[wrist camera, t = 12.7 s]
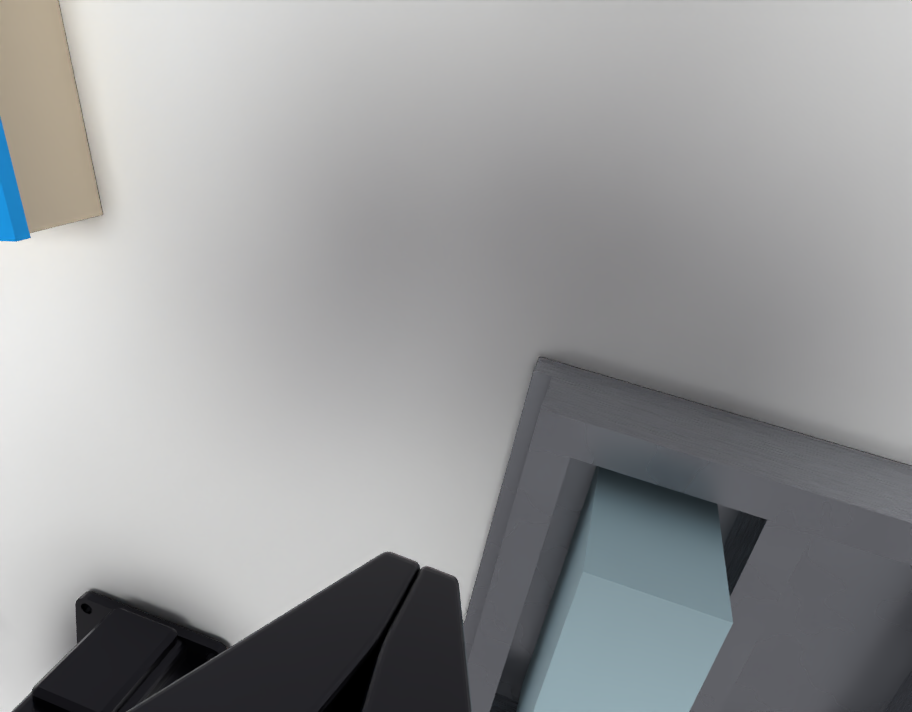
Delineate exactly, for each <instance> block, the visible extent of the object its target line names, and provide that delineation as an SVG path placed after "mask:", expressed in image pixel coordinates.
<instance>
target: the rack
mask: <svg viewBox="0 0 912 712" xmlns="http://www.w3.org/2000/svg"><path fill="white" fill-rule="evenodd" d="M597 466H599V467H602V468H605V469H608V470H612V471H615V472H618V473H621V474H624V475H627V476H631V477H634V478H637V479H640V480H643V481H646V482H650V483H653V484H656V485H659V486H662V487H665V488H669V489H672V490H675V491H678V492H681V493H684V494H688V495H691V496H694V497H697V498H700V499H703V500H707V501H710V502H713V503H716V504H717V506H718V513H719V521H720V528H721V536H722V543H723V551H724V558H725V566H726V573H727V581H728V588H729V596H730V603H731V611H732V618H733V624H732V626H731V628H730V630H729V632H728V634H727V636H726V638H725V640H724V642H723V644H722V646H721V648H720V650H719V652H718V654H717V656H716V659H715V661H714V663H713V665H712V667H711V669H710V671H709V673H708V675H707V677H706V679H705V681H704V683H703V685H702V687H701V689H700V691H699V693H698V695H697V697H696V699H695V701H694V703H693V705H692V707H691V709H690V711H689V712H912V466H910V465H906V464H903V463H899V462H896V461H893V460H889V459H886V458H882V457H879V456H876V455H872V454H869V453H865V452H862V451H859V450H855V449H852V448H848V447H845V446H842V445H838V444H835V443H831V442H828V441H825V440H821V439H818V438H814V437H811V436H808V435H804V434H801V433H797V432H794V431H791V430H787V429H784V428H780V427H777V426H774V425H770V424H767V423H763V422H760V421H757V420H753V419H750V418H746V417H743V416H740V415H736V414H733V413H729V412H726V411H723V410H719V409H716V408H712V407H709V406H706V405H702V404H699V403H695V402H692V401H689V400H685V399H682V398H678V397H675V396H672V395H668V394H665V393H661V392H658V391H655V390H651V389H648V388H644V387H641V386H638V385H634V384H631V383H627V382H624V381H621V380H617V379H614V378H611V377H607V376H604V375H600V374H597V373H594V372H590V371H587V370H583V369H580V368H577V367H573V366H570V365H566V364H563V363H560V362H556V361H553V360H549V359H546V358H543V357H539V359H538V362H537V364H536V366H535V369H534V371H533V375H532V379H531V382H530V386H529V389H528V393H527V397H526V400H525V404H524V408H523V411H522V415H521V419H520V422H519V426H518V429H517V433H516V437H515V440H514V444H513V448H512V451H511V455H510V459H509V462H508V466H507V469H506V473H505V477H504V480H503V484H502V488H501V491H500V495H499V499H498V502H497V506H496V509H495V513H494V517H493V520H492V524H491V528H490V531H489V535H488V539H487V542H486V546H485V549H484V553H483V557H482V560H481V564H480V568H479V571H478V575H477V579H476V582H475V586H474V589H473V593H472V597H471V600H470V604H469V608H468V611H467V615H466V619H465V622H464V626H463V629H464V639H465V648H466V658H467V667H468V677H469V687H470V696H471V706H472V712H516V710H517V706H518V702H519V697H520V693H521V688H522V684H523V682H524V679H525V676H526V673H527V670H528V667H529V664H530V661H531V658H532V655H533V652H534V649H535V646H536V643H537V640H538V637H539V634H540V631H541V628H542V626H543V623H544V620H545V617H546V614H547V611H548V608H549V605H550V602H551V599H552V596H553V593H554V590H555V587H556V584H557V581H558V578H559V575H560V573H561V570H562V567H563V564H564V561H565V558H566V555H567V552H568V549H569V546H570V543H571V540H572V537H573V534H574V531H575V528H576V525H577V522H578V520H579V517H580V514H581V511H582V508H583V505H584V502H585V499H586V496H587V493H588V490H589V487H590V484H591V481H592V478H593V475H594V472H595V469H596V467H597Z"/></svg>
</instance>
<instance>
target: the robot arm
mask: <svg viewBox="0 0 912 712" xmlns="http://www.w3.org/2000/svg"><path fill="white" fill-rule="evenodd" d="M76 626H77V645H76V646H75V647H74V648H73V649H72V650H71V651H70V652H69V653H68V654H67V655H66V656H65V657H64V658H63V659H62V660H61V661H60V662H59V663H58V664H56V665H55V666H54V667H53V668H52V669H51V670H50V671H49V672H48V673H47V674H46V675H45V676H44V677H43V678H42V679H41V680H40V681H39V682H38V683H37V684H36V685H35V686H34V688H33V689H32V692H31V693H30V694H29V695H28V696H27V697H26V698H25V699H24V700H23V701H22V702H21V703H20V704H19V705H18V706H17V707H16V708H15V709H14V710H13V711H12V712H472V706H471V696H470V687H469V677H468V667H467V658H466V648H465V639H464V629H463V620H462V610H461V601H460V591H459V583H458V580H457V579H456V578H455V577H454V576H452V575H450V574H447V573H445V572H442V571H439V570H437V569H434V568H432V567H429V566H425V567H423V568H422V569H420V566H419V564H418V563H417V562H416V561H413V560H411V559H408V558H406V557H403V556H400V555H398V554H395V553H393V552H384V553H382V554H380V555H379V556H377V557H375V558H374V559H372V560H370V561H369V562H367V563H366V564H364V565H362V566H361V567H359V568H358V569H356V570H354V571H353V572H351V573H349V574H348V575H346V576H345V577H343V578H341V579H340V580H338V581H337V582H335V583H333V584H332V585H330V586H328V587H327V588H325V589H324V590H322V591H320V592H319V593H317V594H316V595H314V596H312V597H311V598H309V599H307V600H306V601H304V602H303V603H301V604H299V605H298V606H296V607H295V608H293V609H291V610H290V611H288V612H286V613H285V614H283V615H282V616H280V617H278V618H277V619H275V620H274V621H272V622H270V623H269V624H267V625H265V626H264V627H262V628H261V629H259V630H257V631H256V632H254V633H252V634H251V635H249V636H248V637H246V638H244V639H243V640H241V641H240V642H238V643H236V644H235V645H233V646H231V647H230V648H228V649H227V648H226V646H225V645H224V644H222V643H221V642H219V641H216V640H214V639H211V638H209V637H206V636H204V635H201V634H199V633H196V632H194V631H191V630H188V629H186V628H183V627H181V626H178V625H176V624H173V623H171V622H168V621H166V620H163V619H160V618H158V617H155V616H153V615H150V614H148V613H145V612H143V611H140V610H137V609H135V608H132V607H130V606H127V605H125V604H122V603H120V602H117V601H115V600H112V599H109V598H107V597H104V596H102V595H99V594H97V593H94V592H90V591H89V592H86V593H84V594H83V595H82V596H81V597H80V598H79V599H78V600H77V601H76Z"/></svg>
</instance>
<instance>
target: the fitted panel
mask: <svg viewBox="0 0 912 712" xmlns="http://www.w3.org/2000/svg"><path fill="white" fill-rule="evenodd" d="M732 624H733V618H732V611H731V603H730V596H729V588H728V581H727V573H726V566H725V558H724V551H723V543H722V536H721V528H720V521H719V513H718V506H717V504H716V503H713V502H710V501H707V500H703V499H700V498H697V497H694V496H691V495H688V494H684V493H681V492H678V491H675V490H672V489H669V488H665V487H662V486H659V485H656V484H653V483H650V482H646V481H643V480H640V479H637V478H634V477H631V476H627V475H624V474H621V473H618V472H615V471H612V470H608V469H605V468H602V467H599V466H597V467H596V469H595V472H594V475H593V478H592V481H591V484H590V487H589V490H588V493H587V496H586V499H585V502H584V505H583V508H582V511H581V514H580V517H579V520H578V522H577V525H576V528H575V531H574V534H573V537H572V540H571V543H570V546H569V549H568V552H567V555H566V558H565V561H564V564H563V567H562V570H561V573H560V575H559V578H558V581H557V584H556V587H555V590H554V593H553V596H552V599H551V602H550V605H549V608H548V611H547V614H546V617H545V620H544V623H543V626H542V628H541V631H540V634H539V637H538V640H537V643H536V646H535V649H534V652H533V655H532V658H531V661H530V664H529V667H528V670H527V673H526V676H525V679H524V682H523V684H522V688H521V693H520V697H519V702H518V706H517V710H516V712H689V711H690V709H691V707H692V705H693V703H694V701H695V699H696V697H697V695H698V693H699V691H700V689H701V687H702V685H703V683H704V681H705V679H706V677H707V675H708V673H709V671H710V669H711V667H712V665H713V663H714V661H715V659H716V656H717V654H718V652H719V650H720V648H721V646H722V644H723V642H724V640H725V638H726V636H727V634H728V632H729V630H730V628H731V626H732Z"/></svg>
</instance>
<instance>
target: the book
mask: <svg viewBox="0 0 912 712" xmlns="http://www.w3.org/2000/svg"><path fill="white" fill-rule="evenodd" d="M100 215H103V213H102V208H101V203H100V198H99V194H98V189H97V184H96V179H95V174H94V170H93V165H92V160H91V155H90V150H89V146H88V141H87V136H86V131H85V126H84V122H83V117H82V112H81V107H80V102H79V98H78V93H77V88H76V83H75V78H74V74H73V69H72V64H71V59H70V54H69V50H68V45H67V40H66V35H65V30H64V26H63V21H62V16H61V11H60V6H59V2H58V0H0V241H20V240H24V239H28V238H31V237H30V233H33V232H37V231H41V230H45V229H49V228H52V227H56V226H60V225H64V224H68V223H72V222H76V221H80V220H84V219H88V218H92V217H96V216H100Z"/></svg>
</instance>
